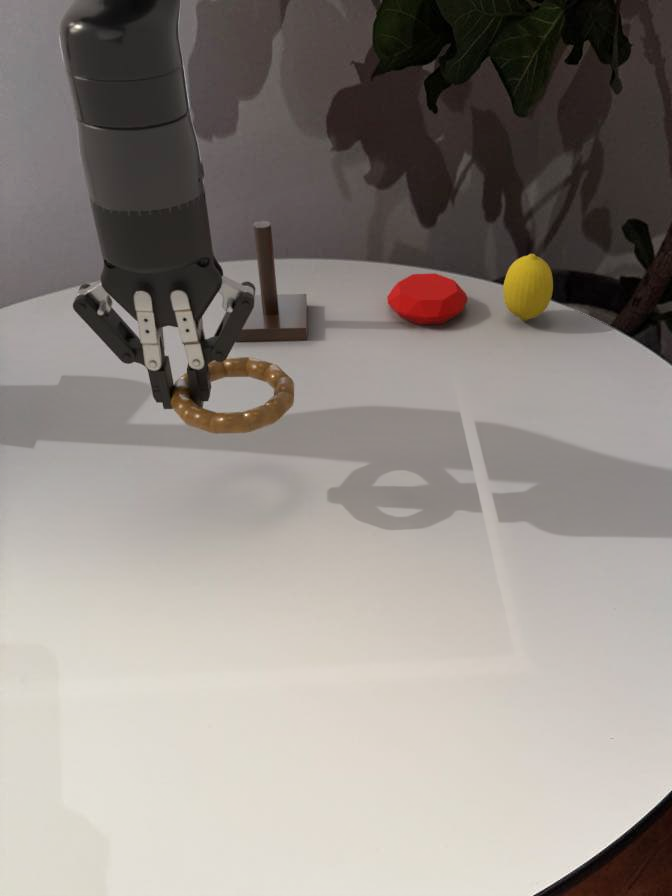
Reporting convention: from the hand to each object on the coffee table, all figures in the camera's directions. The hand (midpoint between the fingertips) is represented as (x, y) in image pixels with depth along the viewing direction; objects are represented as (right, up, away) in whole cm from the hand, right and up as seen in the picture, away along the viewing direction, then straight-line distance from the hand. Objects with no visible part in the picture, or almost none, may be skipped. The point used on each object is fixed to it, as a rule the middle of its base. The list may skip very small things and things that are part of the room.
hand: (184, 402), depth 70 cm
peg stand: (+2, +14, +30) cm, 33 cm away
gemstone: (+20, +16, +33) cm, 42 cm away
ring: (+4, +1, 0) cm, 4 cm away
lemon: (+31, +14, +31) cm, 47 cm away
